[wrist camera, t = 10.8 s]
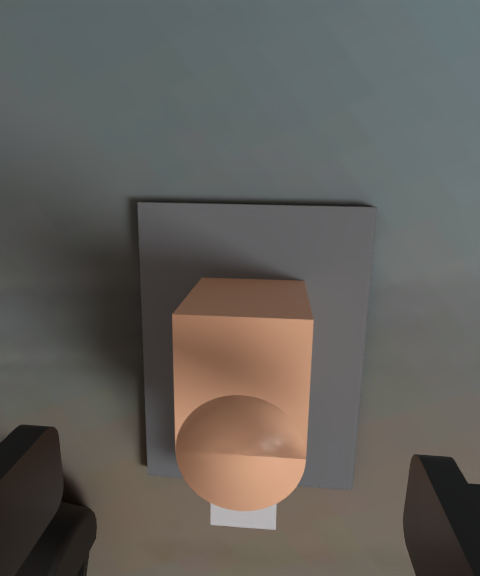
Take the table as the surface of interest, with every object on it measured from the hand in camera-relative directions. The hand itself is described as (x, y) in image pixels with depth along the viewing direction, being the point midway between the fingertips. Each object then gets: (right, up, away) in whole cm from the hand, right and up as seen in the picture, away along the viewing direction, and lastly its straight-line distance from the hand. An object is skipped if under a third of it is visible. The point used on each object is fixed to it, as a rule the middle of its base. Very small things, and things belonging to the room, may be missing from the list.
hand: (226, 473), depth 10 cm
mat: (+1, +2, +9) cm, 9 cm away
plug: (+1, 0, +8) cm, 8 cm away
